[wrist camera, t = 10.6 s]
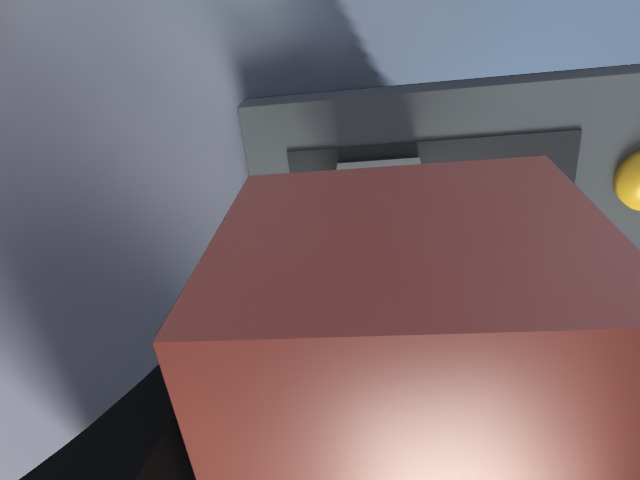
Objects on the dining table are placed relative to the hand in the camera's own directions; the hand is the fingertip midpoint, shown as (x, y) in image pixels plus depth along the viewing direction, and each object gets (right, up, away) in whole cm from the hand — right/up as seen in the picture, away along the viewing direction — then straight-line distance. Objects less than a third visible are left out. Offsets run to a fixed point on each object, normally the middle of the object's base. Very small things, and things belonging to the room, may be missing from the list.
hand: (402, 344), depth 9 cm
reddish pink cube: (0, +1, +1) cm, 2 cm away
